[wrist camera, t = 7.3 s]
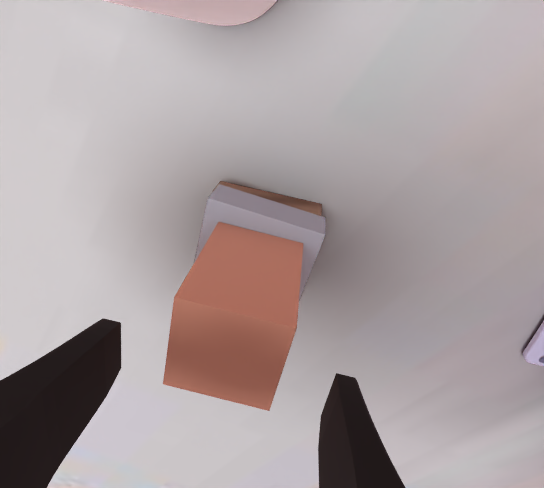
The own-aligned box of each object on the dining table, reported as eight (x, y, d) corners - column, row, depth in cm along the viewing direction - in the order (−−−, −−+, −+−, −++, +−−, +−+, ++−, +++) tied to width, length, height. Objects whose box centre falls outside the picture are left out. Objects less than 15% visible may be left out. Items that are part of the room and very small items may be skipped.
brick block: (303, 243, 17) (296, 328, 12) (282, 311, 19) (269, 410, 14) (218, 221, 17) (174, 297, 12) (205, 291, 19) (163, 384, 14)
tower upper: (325, 217, 19) (325, 234, 17) (292, 303, 21) (289, 326, 20) (219, 183, 19) (208, 197, 17) (198, 274, 21) (187, 294, 20)
